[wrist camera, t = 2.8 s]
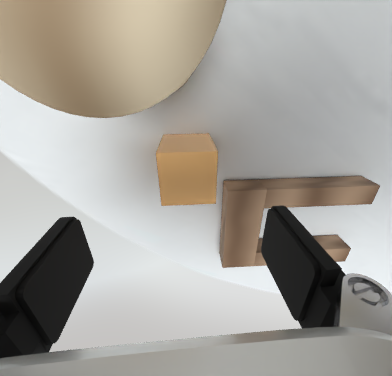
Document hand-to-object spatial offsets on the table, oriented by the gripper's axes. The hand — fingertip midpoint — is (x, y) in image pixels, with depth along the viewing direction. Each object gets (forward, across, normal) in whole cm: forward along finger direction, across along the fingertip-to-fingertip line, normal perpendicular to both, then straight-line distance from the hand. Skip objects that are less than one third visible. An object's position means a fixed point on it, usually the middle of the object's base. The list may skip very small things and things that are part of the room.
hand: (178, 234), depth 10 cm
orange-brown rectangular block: (+12, -1, 0) cm, 12 cm away
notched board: (+12, -13, +8) cm, 19 cm away
